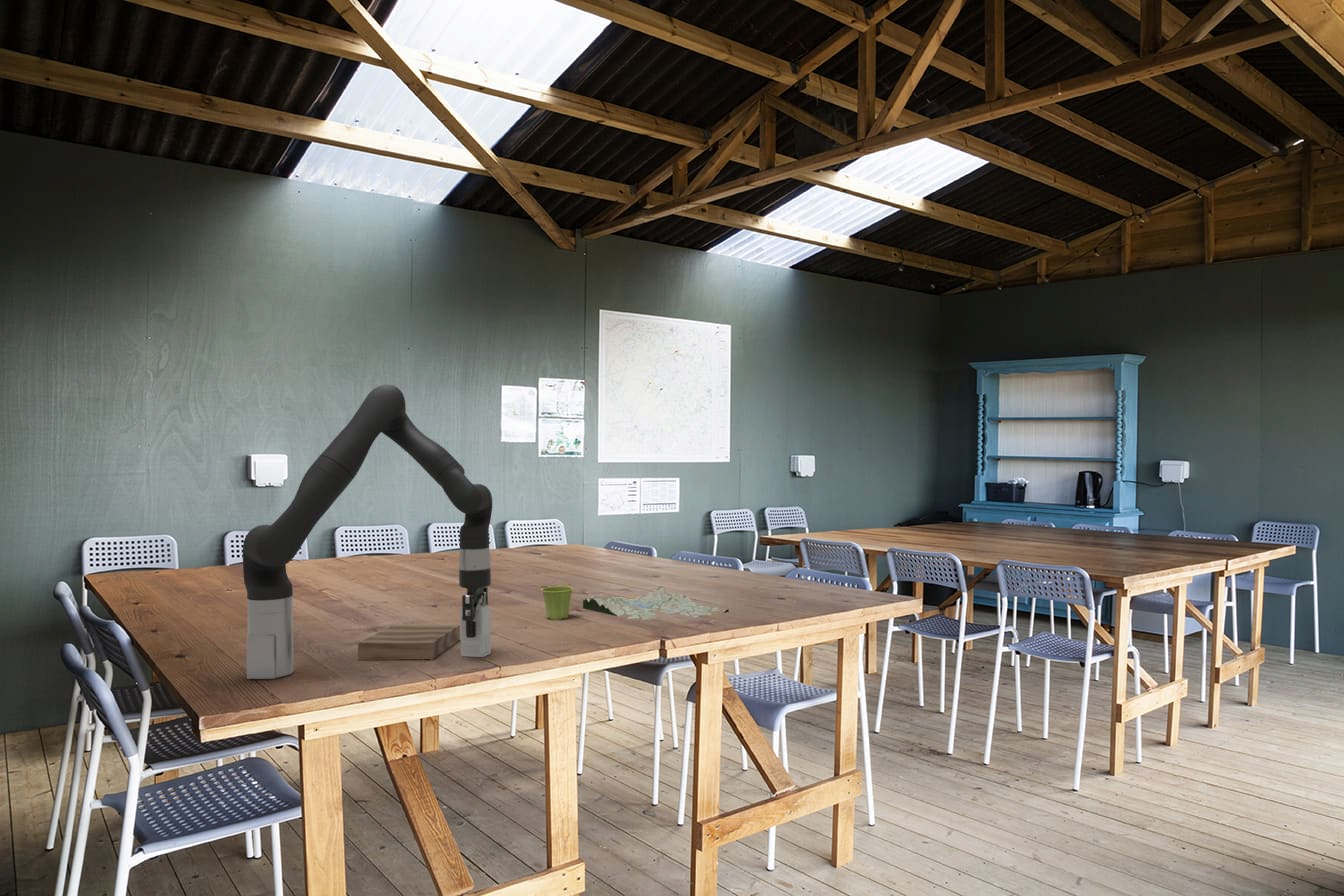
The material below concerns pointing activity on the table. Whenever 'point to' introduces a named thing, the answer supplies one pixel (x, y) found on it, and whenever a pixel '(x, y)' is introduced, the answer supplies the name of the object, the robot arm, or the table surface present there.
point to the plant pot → (557, 601)
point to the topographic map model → (647, 605)
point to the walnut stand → (409, 642)
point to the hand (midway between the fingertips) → (476, 633)
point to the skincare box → (477, 635)
